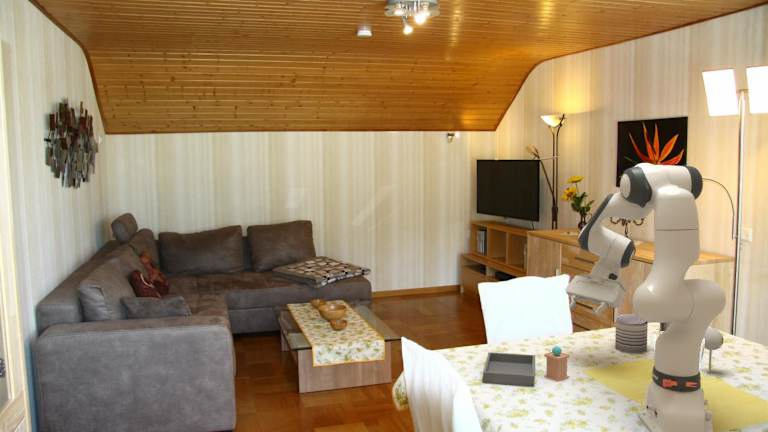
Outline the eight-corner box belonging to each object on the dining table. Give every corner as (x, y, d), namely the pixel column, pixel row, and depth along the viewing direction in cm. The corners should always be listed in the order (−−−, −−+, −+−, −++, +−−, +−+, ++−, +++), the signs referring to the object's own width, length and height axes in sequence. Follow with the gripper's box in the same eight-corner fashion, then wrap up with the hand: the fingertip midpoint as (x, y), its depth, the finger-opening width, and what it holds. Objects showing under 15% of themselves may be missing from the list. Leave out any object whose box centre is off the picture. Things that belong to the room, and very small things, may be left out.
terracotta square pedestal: (555, 372, 212) (555, 350, 211) (569, 377, 207) (569, 354, 206) (544, 376, 208) (544, 354, 208) (557, 381, 204) (558, 358, 203)
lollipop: (720, 378, 204) (722, 332, 203) (696, 374, 208) (698, 329, 206) (722, 371, 210) (724, 327, 209) (698, 367, 214) (700, 324, 212)
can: (652, 354, 228) (653, 321, 227) (620, 354, 228) (621, 322, 227) (640, 344, 240) (641, 313, 238) (610, 344, 240) (610, 313, 238)
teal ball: (561, 356, 205) (561, 347, 205) (552, 356, 206) (552, 347, 206) (561, 354, 208) (561, 345, 208) (552, 353, 209) (551, 344, 209)
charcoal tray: (534, 386, 200) (534, 376, 200) (483, 382, 204) (483, 372, 203) (535, 365, 219) (535, 355, 219) (488, 361, 223) (488, 352, 223)
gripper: (573, 267, 225) (554, 299, 220) (624, 278, 208) (605, 312, 204) (581, 278, 228) (562, 309, 224) (632, 289, 212) (613, 323, 207)
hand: (583, 310), depth 214 cm, fingers open, 8 cm apart
